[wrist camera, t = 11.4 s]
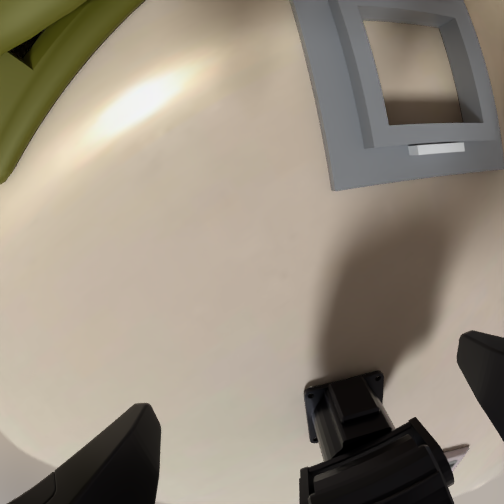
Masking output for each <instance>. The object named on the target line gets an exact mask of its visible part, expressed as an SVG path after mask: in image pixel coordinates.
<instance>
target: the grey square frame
mask: <svg viewBox="0 0 504 504" xmlns="http://www.w3.org/2000/svg"><path fill="white" fill-rule="evenodd" d="M290 4H291V7H292V11H293V14H294V18H295V21H296V25H297V28H298V32H299V36H300V39H301V43H302V47H303V51H304V55H305V59H306V63H307V67H308V71H309V76H310V80H311V84H312V89H313V93H314V98H315V103H316V107H317V112H318V117H319V122H320V127H321V132H322V137H323V143H324V148H325V154H326V159H327V165H328V171H329V177H330V184H331V190H332V191H340V190H346V189H352V188H359V187H365V186H372V185H379V184H386V183H393V182H400V181H407V180H415V179H422V178H430V177H438V176H446V175H455V174H463V173H472V172H482V171H491V170H502V169H504V157H503V149H502V141H501V134H500V128H499V122H498V116H497V111H496V105H495V101H494V96H493V91H492V87H491V83H490V79H489V75H488V71H487V67H486V64H485V60H484V57H483V53H482V50H481V47H480V44H479V41H478V38H477V35H476V32H475V29H474V26H473V24H472V21H471V18H470V16H469V13H468V11H467V8H466V6H465V3H464V1H463V0H290ZM362 20H366V21H384V22H397V23H407V24H416V25H424V26H431V27H437V28H439V30H440V33H441V36H442V39H443V42H444V45H445V48H446V52H447V55H448V59H449V62H450V66H451V69H452V73H453V77H454V81H455V85H456V89H457V94H458V98H459V103H460V108H461V113H462V118H463V123H428V124H406V125H389V123H388V118H387V113H386V108H385V103H384V98H383V94H382V90H381V85H380V81H379V77H378V73H377V69H376V65H375V61H374V58H373V54H372V50H371V47H370V44H369V40H368V37H367V34H366V30H365V27H364V24H363V21H362Z"/></svg>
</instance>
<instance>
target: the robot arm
mask: <svg viewBox="0 0 504 504" xmlns="http://www.w3.org/2000/svg"><path fill="white" fill-rule="evenodd" d="M457 363H458V365H459V367H460V369H461V371H462V373H463V374H464V376H465V378H466V380H467V382H468V384H469V386H470V387H471V389H472V391H473V393H474V395H475V397H476V399H477V400H478V402H479V404H480V405H481V407H482V408H483V410H484V411H485V413H486V414H487V416H488V417H489V419H490V420H491V422H492V424H493V425H494V427H495V428H496V430H497V431H498V433H499V435H500V436H501V438H502V440H503V441H504V338H503V337H498V336H494V335H490V334H486V333H482V332H477V331H473V330H472V331H469V332H466V333H464V334H462V335H461V336H460V339H459V345H458V352H457ZM377 376H379V377H377ZM376 377H377V378H376ZM383 383H384V375H383V374H382V372H381V371H375V372H371V373H368V374H364V375H360V376H357V377H353V378H349V379H346V380H342V381H338V382H334V383H330V384H325V385H321V386H317V387H312V388H308V389H306V390H305V391H304V400H305V408H306V415H307V423H308V430H309V438H310V441H311V443H318V442H319V445H320V449H321V453H322V456H323V460H324V462H322V463H319V464H317V465H314V466H311V467H305V468H302V469H300V476H301V478H299V491H300V504H454V502H453V499H452V497H451V494H450V492H449V489H448V487H449V486H451V485H453V484H454V477H453V473H452V470H451V467H450V464H449V462H448V460H447V458H446V456H445V454H444V452H443V451H442V449H441V447H440V446H439V445H438V443H437V442H436V441H435V440H434V438H433V437H432V436H431V435H430V434H429V432H428V431H427V430H426V429H425V428H424V426H423V425H422V424H421V423H420V422H419V421H418V419H417V418H416V417H414V418H412V419H410V420H409V422H407V423H406V424H404V425H402V426H400V427H398V428H396V429H395V427H394V425H393V423H392V421H391V420H390V418H389V416H388V414H387V412H386V411H385V409H384V407H383V405H382V400H383ZM309 394H312V395H309ZM160 444H161V426H160V423H159V421H158V419H157V417H156V415H155V413H154V411H153V409H152V407H151V405H150V404H148V403H137V404H134V405H133V406H132V407H130V408H129V409H128V410H127V411H126V412H125V413H123V414H122V415H121V416H120V417H119V418H118V419H116V420H115V421H114V422H113V423H112V424H111V425H109V426H108V427H107V428H106V429H105V430H103V431H102V432H101V433H100V434H99V435H97V436H96V437H95V438H94V439H93V440H91V441H90V442H89V443H88V444H87V445H85V446H84V447H83V448H82V449H81V450H79V451H78V452H77V453H76V454H74V455H73V456H72V457H71V458H70V459H68V460H67V461H66V462H65V463H63V464H62V465H61V466H60V467H58V468H57V469H56V470H55V472H52V473H51V474H50V475H48V476H47V477H46V478H45V479H43V480H42V481H41V482H39V483H38V484H37V485H35V486H34V487H33V488H31V489H30V490H28V491H27V492H25V493H23V494H22V495H20V496H19V497H17V498H16V499H14V500H12V501H11V502H9V503H7V504H155V499H156V493H157V486H158V480H159V469H160Z"/></svg>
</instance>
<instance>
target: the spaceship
mask: <svg viewBox="0 0 504 504" xmlns="http://www.w3.org/2000/svg"><path fill="white" fill-rule="evenodd" d="M144 1H145V0H0V184H2V183H4V182H5V181H6V180H7V178H8V177H9V176H10V174H11V173H12V171H13V170H14V168H15V166H16V164H17V162H18V161H19V159H20V157H21V155H22V153H23V152H24V150H25V148H26V147H27V145H28V143H29V141H30V140H31V138H32V136H33V135H34V133H35V132H36V130H37V128H38V127H39V125H40V124H41V122H42V121H43V119H44V118H45V116H46V115H47V113H48V112H49V110H50V109H51V107H52V106H53V104H54V103H55V102H56V100H57V99H58V97H59V96H60V95H61V93H62V92H63V90H64V89H65V88H66V86H67V85H68V84H69V82H70V81H71V80H72V79H73V77H74V76H75V75H76V74H77V72H78V71H79V70H80V69H81V67H82V66H83V65H84V64H85V62H86V61H87V60H88V59H89V58H90V56H91V55H92V54H93V53H94V52H95V51H96V50H97V48H98V47H99V46H100V45H101V44H102V43H103V42H104V41H105V40H106V38H107V37H108V36H109V35H110V34H111V33H112V32H113V31H114V30H115V29H116V28H117V27H118V26H119V25H120V24H121V23H122V22H123V21H124V20H125V19H126V18H127V17H128V16H129V15H130V14H131V13H132V12H133V11H134V10H135V9H136V8H137V7H138V6H139V5H140V4H142V3H143V2H144ZM45 28H46V29H45ZM44 29H45V30H44ZM42 30H44V31H43V33H42V34H41V35H40V36H39V38H38V39H37V40H36V41H35V43H34V44H33V45H32V47H31V48H30V49H29V51H28V52H27V53H26V55H25V56H24V58H23V59H22V60H21V59H20V58H18V57H17V56H16V55H14V54H13V53H11V52H10V51H9V50H11V49H13V48H14V47H16V46H18V45H20V44H22V43H23V42H25V41H27V40H29V39H31V38H32V37H34V36H35V35H37V34H38V33H39V32H41V31H42Z"/></svg>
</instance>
